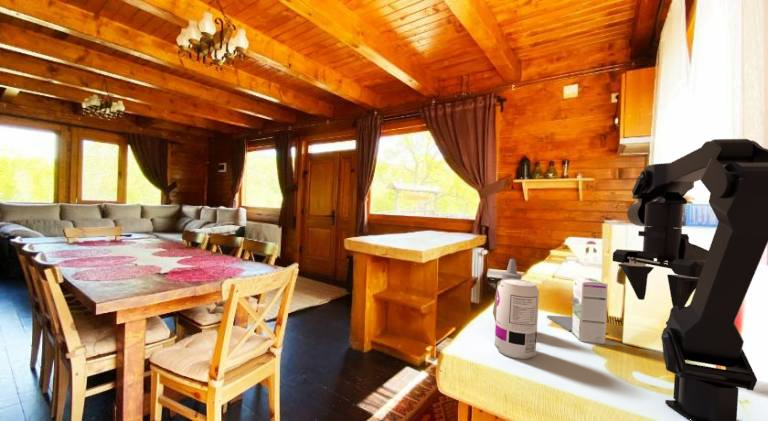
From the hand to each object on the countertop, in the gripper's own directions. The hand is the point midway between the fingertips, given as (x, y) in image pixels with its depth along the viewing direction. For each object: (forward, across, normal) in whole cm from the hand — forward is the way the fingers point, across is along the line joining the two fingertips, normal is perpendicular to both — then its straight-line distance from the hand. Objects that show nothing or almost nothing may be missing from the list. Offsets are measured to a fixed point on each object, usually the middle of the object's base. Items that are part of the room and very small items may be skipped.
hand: (658, 305), depth 64 cm
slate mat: (+13, +24, 0) cm, 28 cm away
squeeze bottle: (+13, +19, +21) cm, 32 cm away
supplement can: (+13, +6, +26) cm, 30 cm away
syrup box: (+13, +15, +3) cm, 20 cm away
